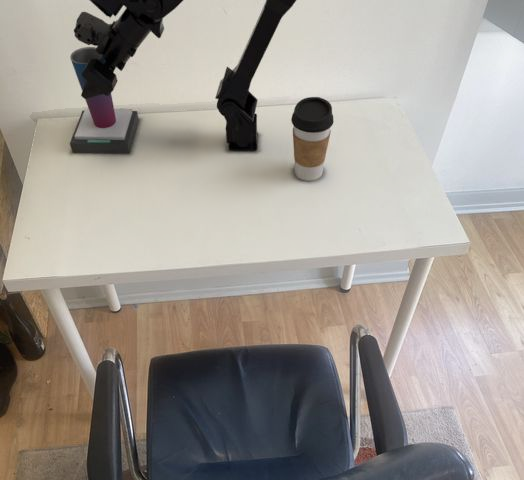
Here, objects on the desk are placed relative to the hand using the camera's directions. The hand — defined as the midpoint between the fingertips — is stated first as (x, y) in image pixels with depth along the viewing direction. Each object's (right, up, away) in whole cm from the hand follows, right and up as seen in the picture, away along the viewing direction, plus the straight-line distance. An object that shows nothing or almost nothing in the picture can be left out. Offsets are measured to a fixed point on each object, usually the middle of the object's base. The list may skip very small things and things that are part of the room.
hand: (89, 85), depth 116 cm
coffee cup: (+47, -19, +1) cm, 51 cm away
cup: (+1, -5, +7) cm, 9 cm away
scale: (+1, -7, +9) cm, 12 cm away
